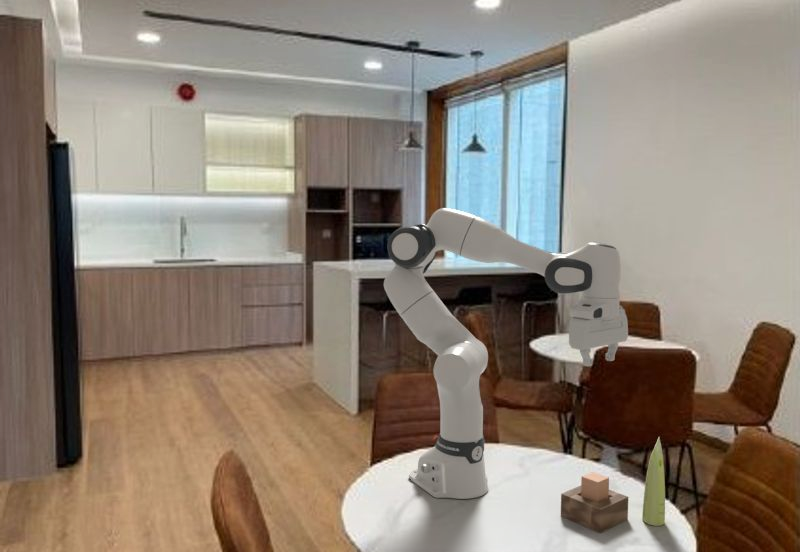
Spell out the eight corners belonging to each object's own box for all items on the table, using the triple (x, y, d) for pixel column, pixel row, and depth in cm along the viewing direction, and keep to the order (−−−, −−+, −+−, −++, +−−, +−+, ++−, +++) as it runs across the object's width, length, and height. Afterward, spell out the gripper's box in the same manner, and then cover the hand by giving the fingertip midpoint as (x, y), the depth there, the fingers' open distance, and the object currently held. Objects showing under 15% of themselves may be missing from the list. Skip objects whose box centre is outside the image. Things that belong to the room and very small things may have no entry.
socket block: (560, 515, 157) (561, 493, 156) (588, 503, 164) (588, 482, 163) (600, 533, 148) (601, 509, 148) (627, 519, 155) (628, 496, 155)
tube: (671, 526, 151) (674, 444, 150) (651, 528, 150) (654, 446, 149) (656, 515, 157) (659, 436, 155) (637, 517, 156) (640, 437, 154)
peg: (580, 512, 156) (581, 476, 155) (591, 507, 159) (592, 471, 158) (596, 519, 153) (597, 482, 152) (607, 514, 155) (609, 477, 155)
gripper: (613, 303, 171) (611, 355, 172) (564, 310, 158) (563, 366, 159) (635, 305, 166) (633, 359, 167) (587, 313, 153) (585, 371, 154)
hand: (598, 363), depth 163 cm, fingers open, 8 cm apart
